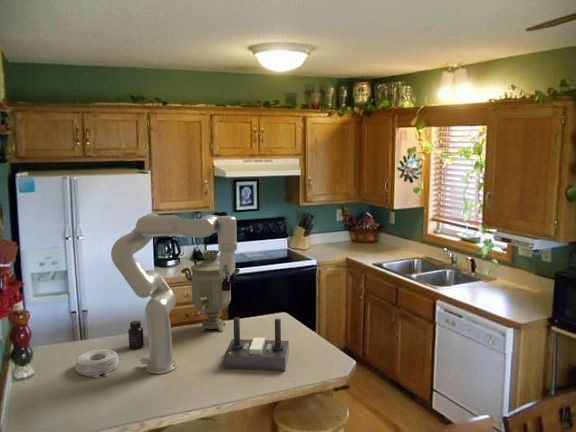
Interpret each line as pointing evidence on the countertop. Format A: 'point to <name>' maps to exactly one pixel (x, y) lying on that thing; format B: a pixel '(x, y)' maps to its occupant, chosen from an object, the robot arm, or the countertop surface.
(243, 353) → the gray switch control box
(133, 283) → the robot arm
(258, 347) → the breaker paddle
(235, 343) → the dark grey upright post
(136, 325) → the supplement bottle
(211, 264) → the samovar
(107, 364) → the cable
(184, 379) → the countertop surface
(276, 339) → the black toggle lever
